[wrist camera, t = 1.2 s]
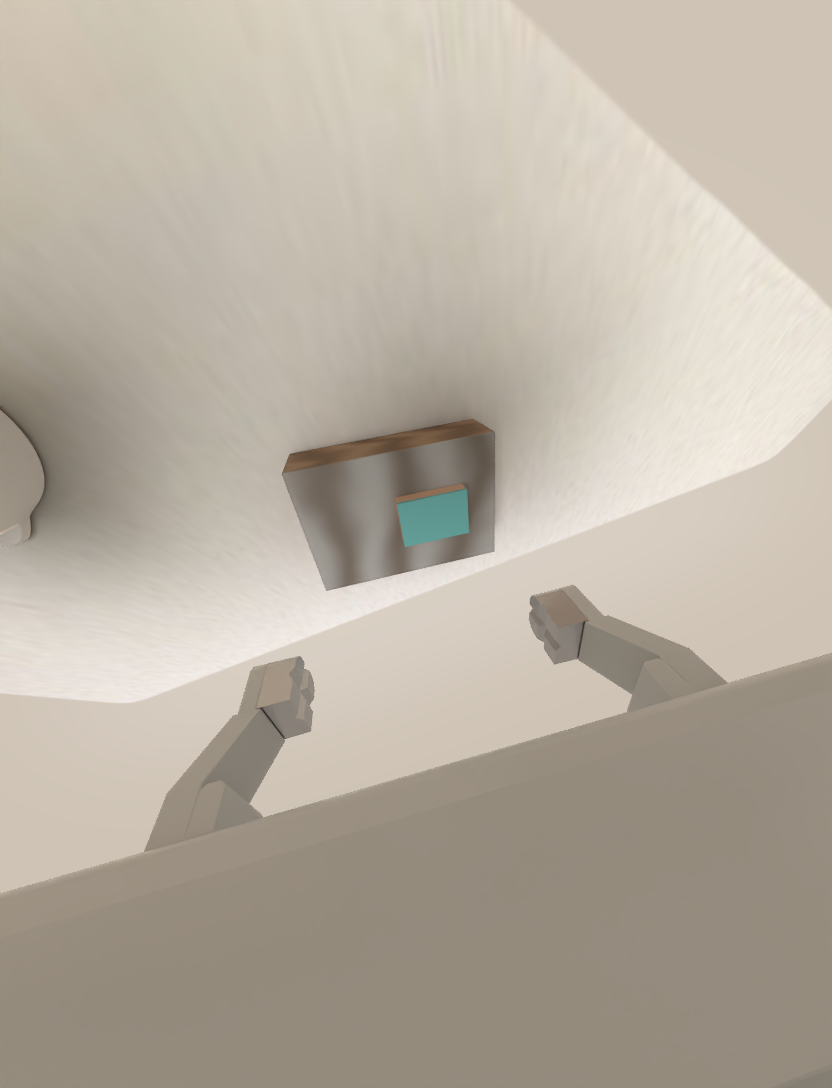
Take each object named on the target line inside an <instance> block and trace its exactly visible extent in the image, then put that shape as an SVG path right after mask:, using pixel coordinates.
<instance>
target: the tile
mask: <svg viewBox="0 0 832 1088" xmlns="http://www.w3.org/2000/svg"><path fill="white" fill-rule="evenodd" d="M395 503H396V508H397V513H398V519H399V524H400V530H401V535H402V540H403V543H404V546H405V547H408V546H413V545H417V544H421V543H426V542H430V541H435V540H439V539H443V538H448V537H452V536H457V535H461V534H466V533H469V518H468V498H467V489H466V488H465V486H464V485H463V484H457V485H452V486H447V487H443V488H438V489H433V490H428V491H424V492H419V493H414V494H409V495H405V496H400V497H395Z"/></svg>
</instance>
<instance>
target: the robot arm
mask: <svg viewBox="0 0 832 1088" xmlns="http://www.w3.org/2000/svg"><path fill="white" fill-rule="evenodd" d="M43 491H44V473H43V468H42V465H41V462H40V460H39V457H38V455H37V453H36V451H35V449H34V448H33V446H32V444H31V443H30V441H29V440H28V439H27V437H26V436H25V435H24V433H23V432H22V431H21V430H20V429H19V427H18V426H17V425H16V424H15V423H14V422H13V421H12V420H11V419H10V418H9V417H8V416H7V415H6V414H5V413H3V412H2V411H1V410H0V546H12V545H17V544H20V543H22V542H24V541H26V540H27V539H29V537H30V534H31V524H30V515H31V513H32V511H33V510H34V508H35V507H36V505H37V504H38V503H39V501H40V499H41V497H42V494H43ZM530 605H531V606H532V608H533V609H532V610H531V612H530V613H529V620H530V624H531V628H532V630H533V632H534V634H535V636H536V637H537V638H538V639H539V640H541V641H543V642H544V649H545V651H546V652H547V654H548V656H549V657H550V659H551V660H552V662H553V663H554V664H558V663H562V662H566V661H570V660H574V659H578V660H579V661H581V662H583V663H584V664H585V665H587V666H589V667H590V668H592V669H593V670H595V671H596V672H598V673H600V674H601V675H603V676H604V677H606V678H607V679H609V680H610V681H612V682H614V683H615V684H617V685H618V686H620V687H622V688H623V689H625V690H626V691H628V692H629V693H631V694H632V698H631V701H630V704H629V706H628V710H627V712H626V713H623V714H619V715H617V716H613V717H609V718H606V719H602V720H599V721H595V722H592V723H588V724H585V725H582V726H578V727H575V728H571V729H568V730H564V731H561V732H558V733H554V734H551V735H547V736H544V737H540V738H537V739H533V740H530V741H526V742H523V743H519V744H516V745H512V746H509V747H506V748H502V749H498V750H495V751H492V752H488V753H485V754H481V755H478V756H474V757H471V758H467V759H464V760H460V761H457V762H453V763H450V764H447V765H443V766H440V767H436V768H433V769H429V770H426V771H422V772H419V773H415V774H413V775H409V776H405V777H402V778H398V779H395V780H391V781H388V782H385V783H381V784H378V785H374V786H371V787H368V788H364V789H360V790H357V791H353V792H350V793H346V794H343V795H340V796H336V797H333V798H329V799H326V800H322V801H319V802H315V803H312V804H309V805H305V806H302V807H298V808H295V809H292V810H288V811H284V812H281V813H277V814H274V815H271V816H267V817H264V818H263V816H262V815H261V813H260V812H258V811H257V810H256V809H255V808H253V807H252V806H251V805H250V804H249V803H250V801H251V800H252V798H253V796H254V794H255V792H256V791H257V789H258V787H259V786H260V784H261V782H262V780H263V779H264V777H265V775H266V773H267V771H268V770H269V768H270V766H271V765H272V763H273V761H274V759H275V758H276V756H277V754H278V752H279V751H280V749H281V747H282V745H283V744H284V742H285V740H284V739H287V738H290V737H293V736H297V735H300V734H303V733H307V732H310V731H311V725H312V714H313V711H312V710H311V708H310V706H309V705H310V703H311V702H312V701H313V699H314V682H313V679H312V676H311V673H310V672H309V671H308V670H306V669H304V661H303V660H302V658H301V657H294V658H289V659H285V660H281V661H276V662H272V663H269V664H264V665H260V666H256V667H253V669H252V670H251V671H250V674H249V678H248V681H247V685H246V688H245V692H244V695H243V698H242V702H241V706H240V709H239V712H238V715H234V716H233V717H232V718H231V719H230V720H229V721H228V722H227V724H226V725H225V726H224V727H223V728H222V730H221V731H220V732H219V733H218V734H217V735H216V737H215V738H214V739H213V740H212V741H211V742H210V744H209V745H208V746H207V747H206V748H205V749H204V751H203V752H202V753H201V754H200V756H199V757H198V758H197V759H196V760H195V761H194V762H193V764H192V765H191V766H190V767H189V768H188V770H187V771H186V772H185V773H184V774H183V776H182V777H181V778H180V779H179V780H178V781H177V783H176V784H175V785H174V786H173V787H172V788H171V790H170V791H169V792H168V793H167V795H166V797H165V800H164V803H163V805H162V808H161V810H160V813H159V815H158V818H157V820H156V823H155V825H154V828H153V830H152V833H151V835H150V838H149V841H148V843H147V846H146V848H145V851H144V852H143V853H140V854H136V855H133V856H129V857H126V858H122V859H119V860H115V861H112V862H108V863H105V864H101V865H98V866H94V867H91V868H87V869H84V870H80V871H77V872H73V873H70V874H66V875H63V876H60V877H56V878H53V879H49V880H46V881H43V882H39V883H35V884H32V885H28V886H25V887H22V888H18V889H14V890H11V891H7V892H4V893H0V1088H832V653H830V654H826V655H823V656H820V657H816V658H813V659H809V660H806V661H802V662H799V663H795V664H792V665H789V666H785V667H782V668H778V669H775V670H771V671H768V672H764V673H761V674H758V675H754V676H751V677H747V678H744V679H740V680H737V681H734V682H730V683H727V682H726V681H725V680H724V679H723V678H722V677H720V676H719V675H718V674H717V673H716V672H715V671H714V670H713V669H712V668H710V667H709V666H708V665H707V664H706V663H705V662H704V661H703V660H701V659H700V658H699V657H698V656H697V655H696V654H695V653H694V652H693V651H691V650H690V649H689V648H687V647H684V646H682V645H679V644H677V643H674V642H672V641H670V640H667V639H665V638H662V637H660V636H657V635H655V634H652V633H650V632H648V631H645V630H643V629H640V628H638V627H635V626H633V625H630V624H628V623H626V622H623V621H621V620H618V619H616V618H613V617H611V616H603V615H602V614H601V612H600V611H599V610H598V609H597V608H596V607H595V606H594V605H593V604H592V603H591V602H590V601H589V600H588V599H587V598H586V597H585V596H584V595H583V594H582V593H581V592H580V591H579V589H577V587H576V586H574V585H570V586H567V587H563V588H559V589H555V590H551V591H548V592H544V593H540V594H536V595H533V596H531V598H530Z"/></svg>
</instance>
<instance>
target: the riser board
mask: <svg viewBox="0 0 832 1088" xmlns="http://www.w3.org/2000/svg"><path fill="white" fill-rule="evenodd" d="M282 476H283V478H284V481H285V484H286V486H287V489H288V492H289V494H290V497H291V499H292V502H293V505H294V507H295V510H296V513H297V515H298V518H299V520H300V523H301V526H302V528H303V531H304V533H305V536H306V539H307V541H308V544H309V547H310V549H311V552H312V554H313V557H314V560H315V562H316V565H317V568H318V570H319V573H320V575H321V578H322V581H323V583H324V586H325V588H326V591H328V590H332V589H337V588H341V587H345V586H349V585H354V584H358V583H362V582H366V581H371V580H375V579H379V578H383V577H388V576H392V575H396V574H400V573H405V572H409V571H413V570H418V569H422V568H426V567H430V566H435V565H439V564H443V563H447V562H452V561H456V560H460V559H464V558H469V557H473V556H477V555H481V554H486V553H490V552H494V494H495V432H494V431H492V430H490V429H489V428H487V427H485V426H484V425H482V424H480V423H479V422H477V421H475V420H474V419H470V420H465V421H460V422H455V423H449V424H444V425H439V426H434V427H429V428H423V429H418V430H413V431H408V432H402V433H397V434H392V435H387V436H382V437H376V438H371V439H366V440H361V441H356V442H350V443H345V444H340V445H335V446H329V447H324V448H319V449H314V450H309V451H303V452H298V453H293V454H290V455H289V457H288V460H287V462H286V465H285V467H284V470H283V472H282ZM457 484H463V485H464V486H465V488H466V489H467V498H468V518H469V533H466V534H461V535H457V536H452V537H448V538H443V539H439V540H435V541H430V542H426V543H421V544H417V545H413V546H408V547H405V546H404V543H403V540H402V535H401V530H400V524H399V519H398V513H397V508H396V503H395V497H400V496H405V495H409V494H414V493H419V492H424V491H428V490H433V489H438V488H443V487H447V486H452V485H457Z"/></svg>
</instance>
